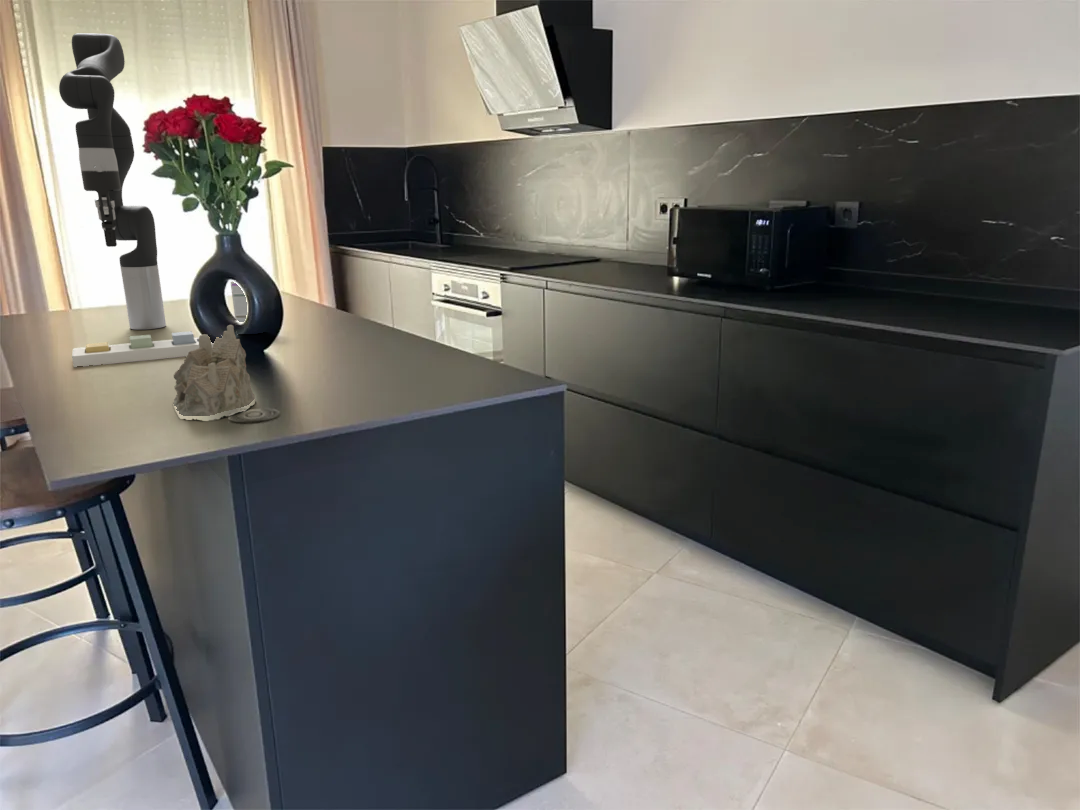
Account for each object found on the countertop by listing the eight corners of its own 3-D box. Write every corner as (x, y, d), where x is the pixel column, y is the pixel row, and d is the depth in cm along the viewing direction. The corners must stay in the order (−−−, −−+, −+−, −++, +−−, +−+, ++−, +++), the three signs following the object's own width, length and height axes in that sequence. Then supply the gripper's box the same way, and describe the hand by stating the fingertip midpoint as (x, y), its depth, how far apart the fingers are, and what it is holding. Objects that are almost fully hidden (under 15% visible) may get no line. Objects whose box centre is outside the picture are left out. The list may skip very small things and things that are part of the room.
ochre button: (88, 356, 178) (86, 344, 177) (109, 354, 180) (107, 342, 179) (87, 360, 174) (85, 347, 173) (110, 358, 176) (108, 345, 175)
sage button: (131, 348, 182) (129, 336, 181) (152, 347, 184) (150, 334, 183) (132, 352, 178) (130, 339, 177) (153, 350, 180) (151, 337, 179)
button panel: (75, 358, 179) (72, 345, 178) (222, 344, 194) (220, 332, 193) (73, 367, 171) (71, 353, 170) (227, 352, 185) (226, 339, 184)
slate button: (173, 345, 186) (171, 332, 185) (193, 343, 188) (191, 331, 187) (174, 348, 182) (173, 335, 181) (194, 346, 184) (193, 334, 183)
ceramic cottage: (204, 392, 150) (193, 316, 144) (274, 403, 144) (265, 325, 139) (140, 419, 136) (125, 336, 131) (214, 432, 131) (202, 347, 125)
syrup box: (258, 335, 206) (252, 280, 202) (236, 335, 206) (229, 280, 202) (265, 331, 212) (260, 278, 207) (244, 331, 212) (238, 278, 208)
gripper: (81, 169, 180) (93, 245, 185) (80, 168, 169) (93, 249, 174) (117, 169, 184) (128, 243, 189) (118, 169, 173) (130, 247, 178)
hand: (111, 246), depth 181 cm, fingers closed
